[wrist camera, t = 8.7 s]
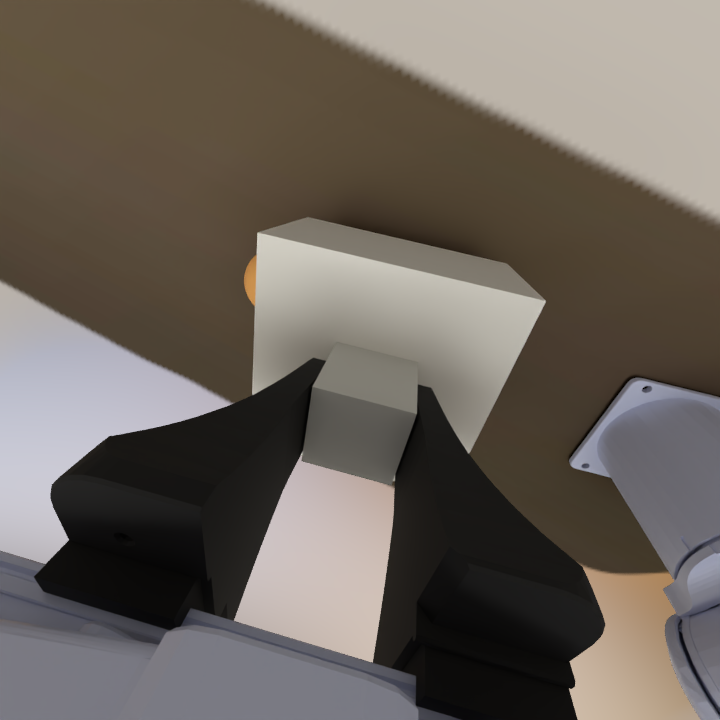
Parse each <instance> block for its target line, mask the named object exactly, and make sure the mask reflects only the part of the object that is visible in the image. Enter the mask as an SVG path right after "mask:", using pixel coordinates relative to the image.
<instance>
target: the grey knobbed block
mask: <svg viewBox="0 0 720 720" xmlns="http://www.w3.org/2000/svg"><path fill="white" fill-rule="evenodd" d="M545 302H546V301H545V300H544V299H543V298H542V297H541V296H540V295H539V294H538V293H537V292H536V291H535V290H534V289H533V288H532V287H531V286H530V285H529V284H528V283H527V282H526V281H525V280H524V279H522V278H521V277H520V276H519V275H518V274H517V273H516V272H515V271H514V270H513V269H512V268H511V267H510V266H509V265H508V264H507V263H502V262H498V261H494V260H489V259H485V258H481V257H477V256H472V255H468V254H464V253H459V252H455V251H451V250H447V249H442V248H438V247H434V246H429V245H425V244H421V243H417V242H412V241H408V240H404V239H399V238H395V237H391V236H387V235H382V234H378V233H374V232H369V231H365V230H361V229H357V228H352V227H348V226H344V225H339V224H335V223H331V222H327V221H322V220H318V219H314V218H310V217H307V218H303V219H300V220H297V221H294V222H290V223H287V224H284V225H281V226H277V227H274V228H271V229H267V230H264V231H261V232H258V234H257V264H256V295H255V325H254V355H253V386H252V395H254V394H256V393H257V392H259V391H261V390H263V389H265V388H266V387H268V386H270V385H272V384H274V383H275V382H277V381H278V380H280V379H282V378H283V377H285V376H286V375H288V374H290V373H291V372H293V371H294V370H296V369H297V368H298V367H300V366H301V365H303V364H304V363H306V362H307V361H309V360H310V359H312V358H317V359H321V360H325V361H326V362H325V364H324V366H323V368H322V370H321V372H320V374H319V376H318V377H317V379H316V381H315V383H314V385H313V387H312V393H311V400H310V407H309V414H308V421H307V428H306V435H305V441H304V448H303V452H302V454H301V456H302V461H303V462H307V463H311V464H314V465H318V466H322V467H325V468H329V469H333V470H336V471H340V472H344V473H347V474H351V475H355V476H359V477H362V478H366V479H369V480H373V481H377V482H380V483H384V484H388V485H392V482H393V481H395V473H396V471H397V468H398V465H399V462H400V460H401V457H402V454H403V451H404V449H405V446H406V443H407V440H408V437H409V435H410V432H411V429H412V426H413V424H414V421H415V418H416V415H417V388H418V384H419V385H423V386H427V387H431V388H432V390H433V392H434V394H435V396H436V398H437V400H438V402H439V404H440V406H441V408H442V410H443V412H444V414H445V416H446V417H447V419H448V421H449V423H450V425H451V426H452V428H453V430H454V432H455V433H456V435H457V437H458V438H459V440H460V441H461V443H462V444H463V446H464V447H465V449H466V450H467V452H468V453H470V451H471V449H472V447H473V445H474V443H475V441H476V439H477V437H478V435H479V433H480V431H481V429H482V427H483V425H484V423H485V421H486V419H487V417H488V415H489V413H490V412H491V410H492V408H493V406H494V404H495V402H496V400H497V398H498V396H499V394H500V392H501V390H502V388H503V386H504V384H505V382H506V380H507V378H508V376H509V374H510V372H511V370H512V368H513V366H514V364H515V362H516V360H517V358H518V356H519V354H520V352H521V350H522V348H523V346H524V344H525V342H526V340H527V338H528V336H529V334H530V332H531V330H532V328H533V326H534V324H535V322H536V320H537V318H538V316H539V314H540V312H541V310H542V308H543V306H544V304H545Z"/></svg>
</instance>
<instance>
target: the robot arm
mask: <svg viewBox="0 0 720 720" xmlns="http://www.w3.org/2000/svg"><path fill="white" fill-rule="evenodd" d="M325 362H326V361H325V360H321V359H317V358H312V359H310V360H309V361H307V362H306V363H304V364H303V365H301V366H300V367H298V368H297V369H296V370H294V371H293V372H291V373H290V374H288V375H286V376H285V377H283V378H282V379H280V380H278V381H277V382H275V383H274V384H272V385H270V386H268V387H266V388H265V389H263V390H261V391H259V392H257V393H256V394H254V395H252V396H250V397H248V398H246V399H243V400H241V401H239V402H236V403H234V404H232V405H229V406H227V407H224V408H221V409H218V410H216V411H212V412H210V413H207V414H204V415H201V416H198V417H195V418H191V419H188V420H185V421H181V422H177V423H173V424H170V425H165V426H161V427H156V428H152V429H147V430H142V431H137V432H131V433H126V434H121V435H115V436H109V437H108V438H107V439H105V440H104V441H103V442H101V443H100V444H99V445H98V446H96V447H95V448H94V449H93V450H91V451H90V452H89V453H88V454H87V455H86V456H84V457H83V458H82V459H81V460H79V461H78V462H77V463H76V464H75V465H74V466H72V467H71V468H70V469H69V470H68V471H66V472H65V473H64V474H63V475H62V476H60V477H59V478H58V479H57V480H56V481H55V482H54V483H53V484H52V488H51V501H52V504H53V508H54V510H55V512H56V514H57V516H58V518H59V520H60V522H61V524H62V526H63V528H64V530H65V532H66V534H67V536H68V538H69V541H68V542H67V543H66V544H65V545H64V546H63V547H62V548H61V549H60V550H59V551H58V552H57V553H56V554H55V555H54V556H53V557H52V558H51V559H50V561H48V562H47V564H43V563H39V562H36V561H33V560H29V559H26V558H23V557H19V556H16V555H13V554H9V553H6V552H3V551H0V720H577V717H576V713H575V709H574V706H573V702H572V699H571V695H570V692H569V688H570V689H572V688H573V687H575V679H574V675H573V672H572V669H571V665H570V662H569V661H571V660H572V659H573V658H575V657H576V656H578V655H579V654H580V653H582V652H583V651H585V650H586V649H587V648H589V647H590V646H592V645H593V644H594V643H595V642H596V641H597V640H598V639H599V638H600V637H601V635H602V634H603V631H604V627H605V622H604V618H603V615H602V613H601V610H600V607H599V605H598V602H597V600H596V597H595V595H594V592H593V589H592V587H591V585H590V583H589V580H588V578H587V576H586V574H585V572H584V570H583V567H582V566H581V565H579V564H578V563H577V562H576V561H575V560H573V559H572V558H571V557H570V556H569V555H567V554H566V553H565V552H564V551H563V550H561V549H560V548H559V547H558V546H557V545H555V544H554V543H553V542H552V541H551V540H549V539H548V538H547V537H546V536H545V535H544V534H542V533H541V532H540V531H539V530H538V529H537V528H536V527H535V526H534V525H533V524H532V523H531V522H529V521H528V520H527V519H526V518H525V517H524V516H523V515H522V514H521V513H520V512H519V511H518V510H517V509H516V508H515V507H514V506H513V505H512V504H511V503H510V502H509V501H508V500H507V499H506V498H505V497H504V496H503V494H502V493H501V492H500V491H499V490H498V489H497V488H496V487H495V486H494V485H493V483H492V482H491V481H490V480H489V479H488V478H487V477H486V475H485V474H484V473H483V472H482V470H481V469H480V468H479V466H478V465H477V464H476V463H475V461H474V460H473V459H472V457H471V456H470V455H469V453H468V452H467V450H466V449H465V447H464V446H463V444H462V443H461V441H460V440H459V438H458V437H457V435H456V433H455V432H454V430H453V428H452V426H451V425H450V423H449V421H448V419H447V417H446V416H445V414H444V412H443V410H442V408H441V406H440V404H439V402H438V400H437V398H436V396H435V394H434V392H433V390H432V388H431V387H427V386H423V385H419V384H418V388H417V415H416V418H415V421H414V424H413V426H412V429H411V432H410V435H409V437H408V440H407V443H406V446H405V449H404V451H403V454H402V457H401V460H400V462H399V465H398V468H397V471H396V473H395V494H394V518H393V528H392V536H391V543H390V552H389V559H388V566H387V573H386V580H385V587H384V594H383V601H382V608H381V614H380V621H379V627H378V634H377V640H376V647H375V653H374V659H373V663H372V662H368V661H364V660H362V659H358V658H355V657H352V656H348V655H345V654H341V653H338V652H335V651H332V650H328V649H325V648H322V647H318V646H315V645H312V644H308V643H305V642H302V641H298V640H295V639H291V638H288V637H285V636H281V635H279V634H275V633H272V632H268V631H265V630H262V629H259V628H255V627H252V626H248V625H245V624H242V623H239V622H235V621H234V618H235V616H236V613H237V610H238V607H239V604H240V602H241V599H242V596H243V593H244V591H245V588H246V585H247V582H248V579H249V577H250V574H251V572H252V569H253V566H254V563H255V561H256V558H257V555H258V553H259V550H260V547H261V545H262V542H263V540H264V537H265V534H266V532H267V529H268V527H269V524H270V521H271V519H272V516H273V514H274V511H275V509H276V506H277V504H278V501H279V499H280V496H281V494H282V491H283V489H284V487H285V485H286V483H287V481H288V478H289V477H290V475H291V473H292V471H293V469H294V467H295V465H296V463H297V461H298V459H299V457H300V455H301V454H302V452H303V448H304V441H305V435H306V428H307V421H308V414H309V407H310V400H311V393H312V387H313V385H314V383H315V381H316V379H317V377H318V376H319V374H320V372H321V370H322V368H323V366H324V364H325ZM645 386H648V387H647V388H646V389H643V388H644V387H645ZM569 463H570V465H571V466H572V467H573V468H576V469H579V470H583V471H587V472H591V473H595V474H598V475H602V476H606V477H610V478H612V480H613V482H614V483H615V485H616V487H617V488H618V490H619V492H620V493H621V495H622V496H623V498H624V500H625V501H626V503H627V505H628V506H629V508H630V509H631V511H632V513H633V514H634V516H635V518H636V519H637V521H638V522H639V524H640V526H641V527H642V529H643V531H644V532H645V534H646V535H647V537H648V539H649V540H650V542H651V544H652V545H653V547H654V548H655V550H656V552H657V553H658V555H659V557H660V558H661V560H662V561H663V563H664V565H665V566H666V568H667V570H668V571H669V573H670V574H671V576H672V578H673V579H674V582H673V583H672V584H670V585H669V586H667V587H665V588H664V589H663V590H664V592H665V594H666V596H667V597H668V599H669V601H670V603H671V604H672V606H673V608H674V609H675V611H676V614H674V615H672V616H671V617H670V618H669V619H668V620H667V622H666V624H665V636H666V642H667V646H668V651H669V656H670V660H671V663H672V666H673V669H674V671H675V674H676V676H677V678H678V680H679V683H680V685H681V687H682V689H683V691H684V693H685V694H686V696H687V698H688V700H689V701H690V703H691V705H692V707H693V708H694V710H695V711H696V713H697V714H698V716H699V718H700V719H701V720H720V397H717V396H713V395H709V394H705V393H701V392H697V391H693V390H689V389H684V388H680V387H676V386H672V385H668V384H664V383H660V382H656V381H652V380H648V379H644V378H633V379H631V380H629V381H628V382H627V384H626V385H625V386H624V388H623V389H622V390H621V392H620V393H619V394H618V396H617V397H616V398H615V400H614V401H613V402H612V404H611V405H610V406H609V408H608V409H607V410H606V412H605V413H604V414H603V416H602V417H601V418H600V419H599V421H598V422H597V423H596V425H595V426H594V427H593V429H592V430H591V431H590V433H589V434H588V435H587V437H586V438H585V439H584V441H583V442H582V443H581V445H580V446H579V447H578V449H577V450H576V451H575V453H574V454H573V455H572V457H571V458H570V460H569ZM585 463H586V464H585Z"/></svg>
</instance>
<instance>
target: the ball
mask: <svg viewBox="0 0 720 720" xmlns="http://www.w3.org/2000/svg"><path fill="white" fill-rule="evenodd" d="M256 264H257V255H255V256H254V257H253V258H252V260H251V261H250V262H249V264H248V266H247V268H246V271H245V276H244V285H245V290H246V293H247V295H248V298H249V299H250V301H251V302H252V304H253V305H254V306H255V295H256Z"/></svg>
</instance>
